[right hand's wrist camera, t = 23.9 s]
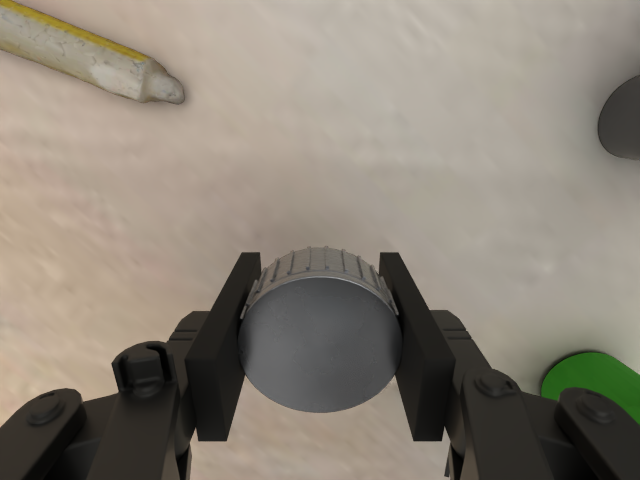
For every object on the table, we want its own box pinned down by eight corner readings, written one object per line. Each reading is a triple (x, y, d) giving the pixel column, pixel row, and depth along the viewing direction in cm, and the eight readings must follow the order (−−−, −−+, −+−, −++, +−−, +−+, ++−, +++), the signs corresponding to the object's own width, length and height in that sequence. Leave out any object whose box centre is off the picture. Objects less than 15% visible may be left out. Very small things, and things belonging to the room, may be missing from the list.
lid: (258, 231, 11) (244, 258, 9) (409, 259, 12) (428, 291, 10) (240, 357, 13) (226, 402, 11) (371, 377, 14) (381, 425, 12)
